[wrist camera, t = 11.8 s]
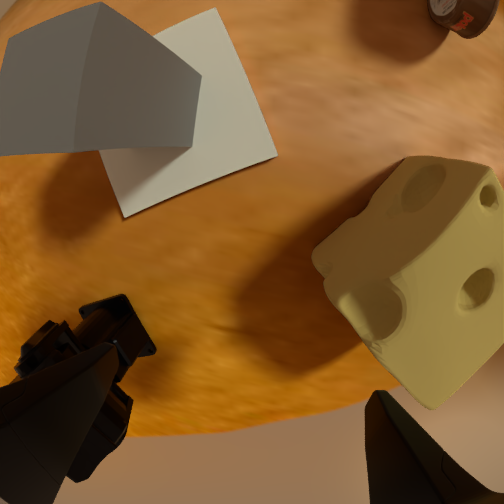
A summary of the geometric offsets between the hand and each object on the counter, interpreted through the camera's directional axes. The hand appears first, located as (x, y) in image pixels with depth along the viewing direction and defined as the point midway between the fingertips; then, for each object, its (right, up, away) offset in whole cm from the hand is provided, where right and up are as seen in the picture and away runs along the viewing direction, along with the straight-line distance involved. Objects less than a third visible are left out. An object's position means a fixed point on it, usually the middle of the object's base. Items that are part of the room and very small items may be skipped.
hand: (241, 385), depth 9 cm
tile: (-6, +14, +9) cm, 18 cm away
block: (-6, +14, +9) cm, 17 cm away
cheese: (+12, +5, +11) cm, 17 cm away
